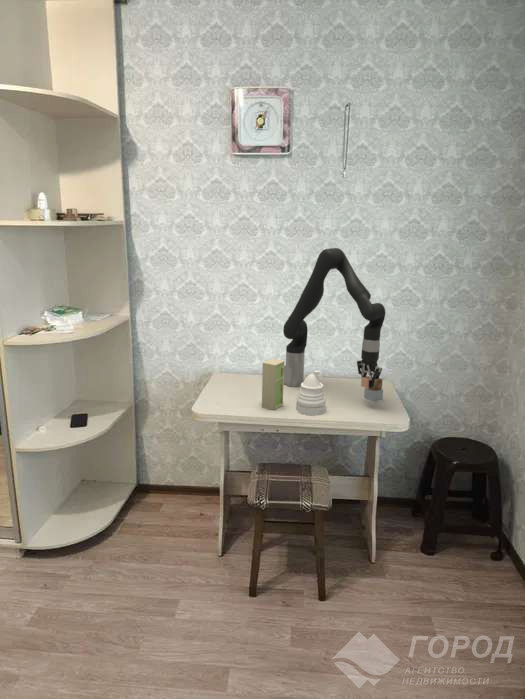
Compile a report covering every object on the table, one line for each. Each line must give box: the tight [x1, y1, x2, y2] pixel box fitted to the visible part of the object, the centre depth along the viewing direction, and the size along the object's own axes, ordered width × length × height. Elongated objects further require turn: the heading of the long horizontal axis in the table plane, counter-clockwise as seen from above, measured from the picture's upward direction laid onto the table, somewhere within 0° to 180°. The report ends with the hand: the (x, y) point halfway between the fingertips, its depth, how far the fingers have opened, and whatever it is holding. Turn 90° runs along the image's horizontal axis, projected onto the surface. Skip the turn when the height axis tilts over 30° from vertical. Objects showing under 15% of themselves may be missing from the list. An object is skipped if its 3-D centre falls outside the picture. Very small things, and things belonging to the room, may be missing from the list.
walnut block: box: [368, 377, 383, 391], centre depth 246 cm, size 5×5×5 cm
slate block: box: [363, 388, 384, 403], centre depth 247 cm, size 6×6×5 cm
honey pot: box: [295, 370, 327, 416], centre depth 232 cm, size 13×13×18 cm
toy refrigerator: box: [261, 358, 285, 411], centre depth 235 cm, size 8×7×21 cm
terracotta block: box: [360, 375, 370, 389], centre depth 235 cm, size 4×4×4 cm
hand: (367, 385), depth 235 cm, fingers closed on terracotta block, 4 cm apart
